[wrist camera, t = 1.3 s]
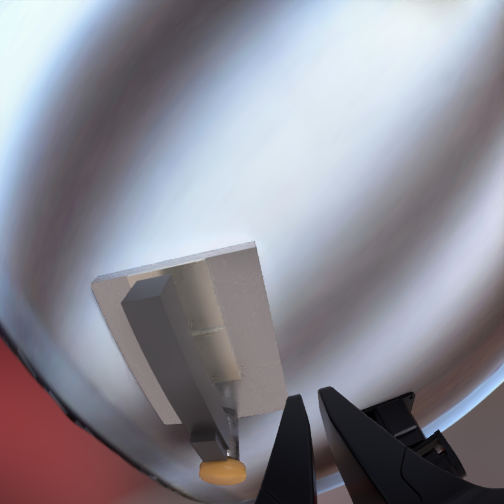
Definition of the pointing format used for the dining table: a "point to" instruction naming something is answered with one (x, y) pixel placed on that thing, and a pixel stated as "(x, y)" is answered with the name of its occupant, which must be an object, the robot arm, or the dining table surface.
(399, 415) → the robot arm
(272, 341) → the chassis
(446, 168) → the dining table surface
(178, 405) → the bar
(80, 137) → the dining table surface
